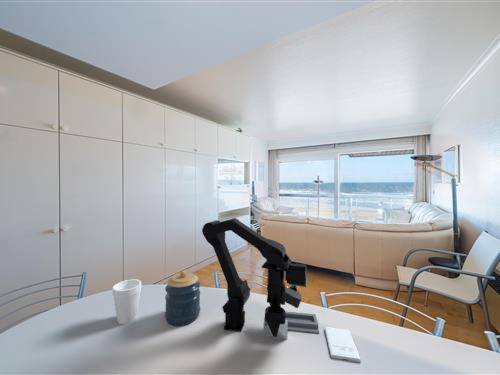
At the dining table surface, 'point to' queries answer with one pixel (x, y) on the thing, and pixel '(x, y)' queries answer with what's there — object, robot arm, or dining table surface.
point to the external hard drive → (341, 344)
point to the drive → (281, 332)
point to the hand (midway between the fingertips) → (275, 327)
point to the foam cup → (127, 300)
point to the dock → (302, 322)
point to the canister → (182, 299)
